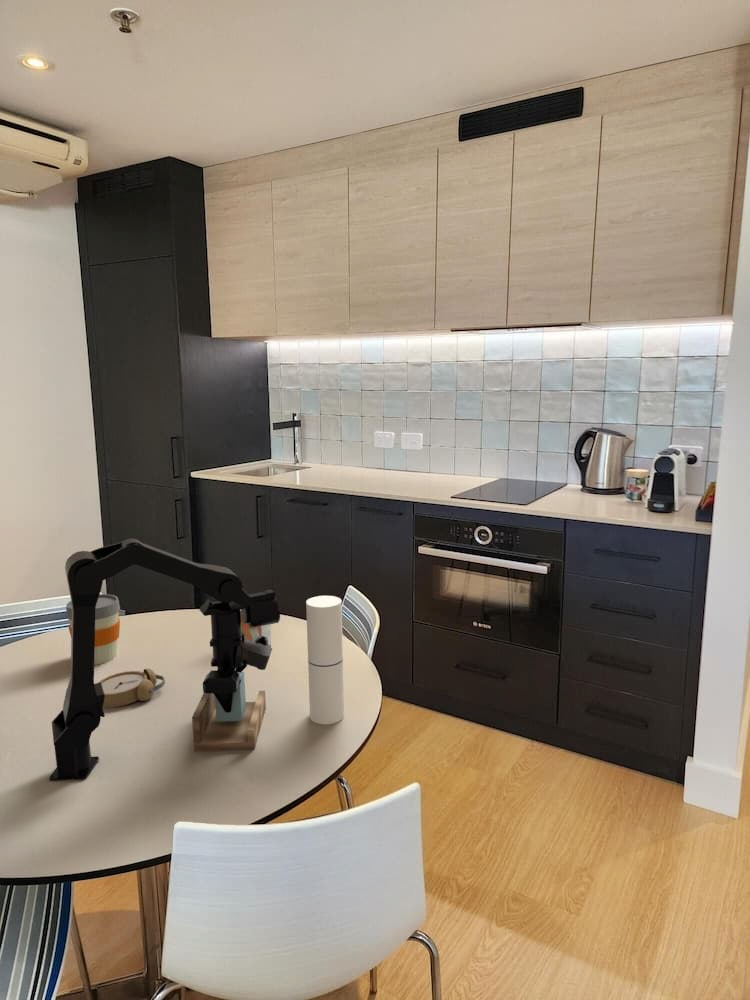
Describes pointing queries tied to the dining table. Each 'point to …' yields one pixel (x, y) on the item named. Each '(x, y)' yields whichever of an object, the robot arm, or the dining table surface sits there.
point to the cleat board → (226, 726)
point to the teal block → (233, 704)
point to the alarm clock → (130, 687)
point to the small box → (256, 631)
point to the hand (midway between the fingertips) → (230, 705)
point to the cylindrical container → (325, 659)
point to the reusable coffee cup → (103, 627)
